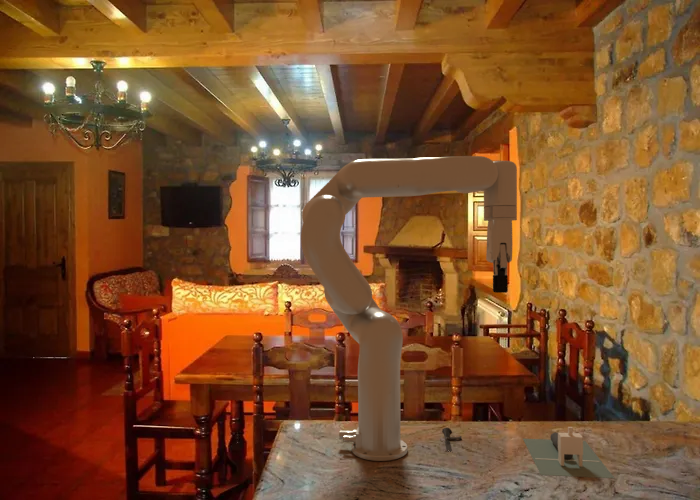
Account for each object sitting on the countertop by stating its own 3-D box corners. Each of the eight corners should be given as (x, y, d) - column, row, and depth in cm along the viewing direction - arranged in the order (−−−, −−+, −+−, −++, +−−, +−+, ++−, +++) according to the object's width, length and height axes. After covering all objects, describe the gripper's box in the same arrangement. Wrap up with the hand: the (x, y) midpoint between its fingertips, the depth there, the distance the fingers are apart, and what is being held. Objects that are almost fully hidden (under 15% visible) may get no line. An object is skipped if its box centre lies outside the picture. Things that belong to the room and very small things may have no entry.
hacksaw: (441, 432, 140) (441, 426, 140) (483, 433, 139) (483, 427, 139) (449, 473, 116) (449, 465, 116) (500, 474, 115) (500, 467, 115)
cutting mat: (540, 478, 111) (540, 474, 111) (522, 441, 131) (522, 438, 131) (614, 482, 110) (614, 477, 110) (585, 444, 130) (585, 440, 130)
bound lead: (560, 460, 119) (560, 448, 119) (550, 442, 129) (550, 432, 129) (573, 460, 118) (573, 449, 118) (561, 443, 128) (561, 432, 128)
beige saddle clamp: (560, 465, 115) (560, 428, 115) (557, 460, 117) (557, 424, 117) (582, 466, 115) (583, 429, 114) (579, 461, 117) (579, 425, 117)
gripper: (480, 215, 139) (480, 289, 140) (487, 213, 125) (487, 295, 125) (511, 215, 138) (511, 289, 139) (522, 213, 124) (522, 295, 124)
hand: (500, 292), depth 132 cm, fingers closed
